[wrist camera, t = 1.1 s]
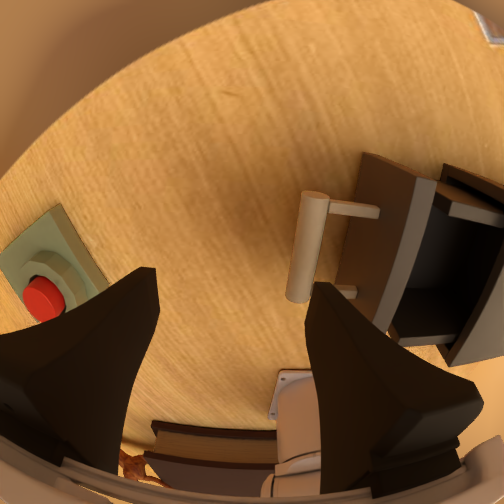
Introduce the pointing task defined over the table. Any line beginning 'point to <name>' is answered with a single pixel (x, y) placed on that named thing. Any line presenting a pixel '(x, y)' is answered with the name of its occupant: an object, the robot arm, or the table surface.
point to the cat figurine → (137, 468)
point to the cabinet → (492, 297)
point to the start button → (43, 299)
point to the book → (213, 459)
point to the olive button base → (53, 260)
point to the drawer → (403, 251)
